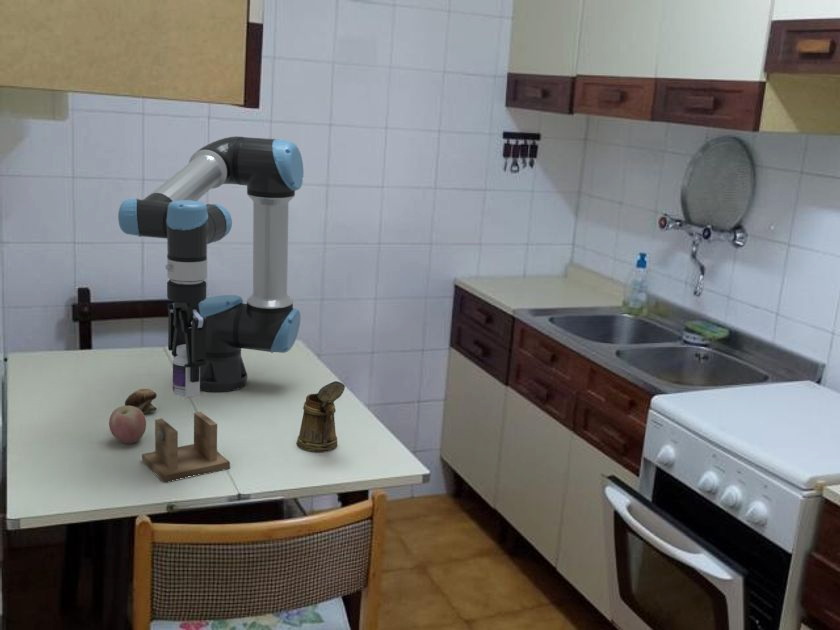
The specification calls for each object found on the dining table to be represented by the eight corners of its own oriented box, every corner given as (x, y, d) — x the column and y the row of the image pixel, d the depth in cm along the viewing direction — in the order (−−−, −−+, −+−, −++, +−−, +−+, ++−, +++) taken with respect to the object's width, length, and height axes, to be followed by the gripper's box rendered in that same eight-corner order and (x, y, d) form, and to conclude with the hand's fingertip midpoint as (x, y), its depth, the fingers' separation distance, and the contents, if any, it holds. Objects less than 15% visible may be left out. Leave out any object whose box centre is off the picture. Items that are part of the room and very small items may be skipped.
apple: (104, 438, 194) (103, 404, 192) (138, 432, 199) (138, 399, 197) (116, 451, 188) (116, 416, 186) (151, 445, 193) (151, 410, 191)
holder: (142, 460, 185) (141, 418, 182) (205, 448, 193) (205, 407, 191) (164, 482, 176) (164, 437, 173) (229, 468, 184) (230, 425, 182)
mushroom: (168, 401, 210) (153, 379, 209) (140, 420, 205) (124, 398, 205) (158, 407, 216) (144, 386, 216) (131, 425, 212) (116, 403, 211)
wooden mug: (312, 463, 190) (315, 383, 185) (291, 439, 201) (294, 364, 197) (350, 457, 194) (355, 379, 189) (328, 435, 205) (331, 361, 201)
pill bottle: (192, 398, 178) (193, 352, 175) (167, 395, 178) (167, 348, 176) (204, 390, 183) (205, 345, 180) (180, 386, 184) (180, 341, 181)
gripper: (150, 271, 179) (151, 380, 185) (188, 291, 166) (187, 408, 171) (185, 269, 184) (185, 375, 190) (225, 288, 170) (223, 402, 176)
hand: (186, 391), depth 180 cm, fingers closed on pill bottle, 5 cm apart
